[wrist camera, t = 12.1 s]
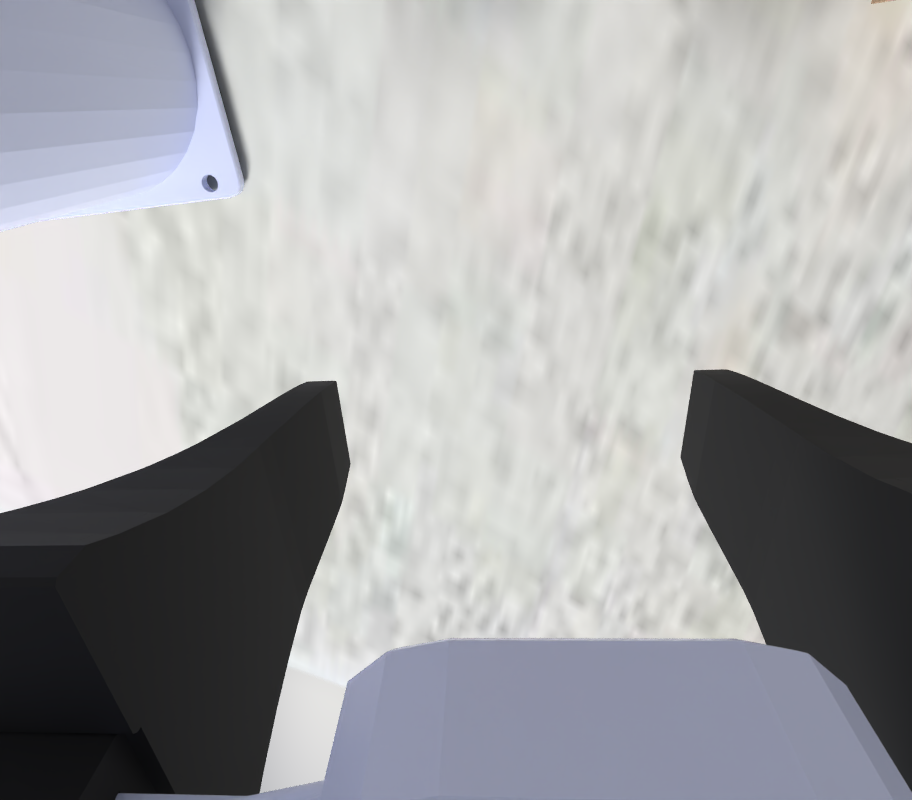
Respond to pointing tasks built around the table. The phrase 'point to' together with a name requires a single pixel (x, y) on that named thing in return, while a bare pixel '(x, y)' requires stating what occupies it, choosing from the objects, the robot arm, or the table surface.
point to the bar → (879, 1)
